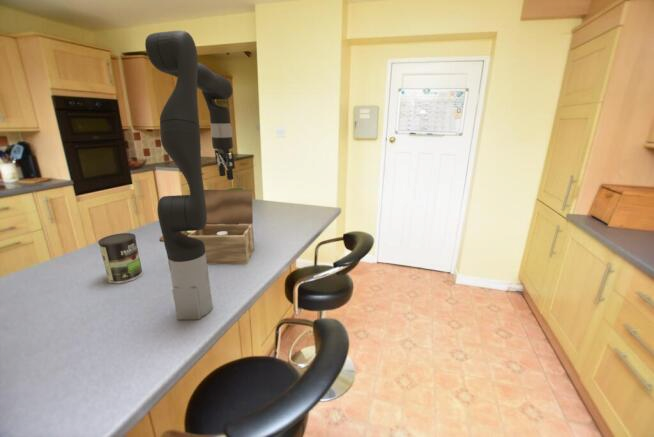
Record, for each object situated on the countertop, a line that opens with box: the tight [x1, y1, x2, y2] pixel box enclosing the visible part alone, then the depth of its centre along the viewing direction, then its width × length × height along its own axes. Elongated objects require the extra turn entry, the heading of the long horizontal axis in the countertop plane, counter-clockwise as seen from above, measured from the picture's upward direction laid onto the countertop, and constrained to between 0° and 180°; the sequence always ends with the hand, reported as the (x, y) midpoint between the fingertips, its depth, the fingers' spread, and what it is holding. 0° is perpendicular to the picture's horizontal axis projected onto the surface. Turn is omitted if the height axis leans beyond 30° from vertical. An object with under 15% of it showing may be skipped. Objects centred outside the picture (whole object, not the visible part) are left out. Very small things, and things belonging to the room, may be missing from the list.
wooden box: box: [188, 224, 255, 265], centre depth 118 cm, size 14×21×11 cm, turn 91°
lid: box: [204, 189, 254, 224], centre depth 123 cm, size 14×21×2 cm
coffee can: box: [97, 232, 144, 284], centre depth 102 cm, size 10×10×14 cm
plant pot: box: [224, 186, 246, 190], centre depth 188 cm, size 12×12×11 cm
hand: (226, 177), depth 121 cm, fingers open, 8 cm apart
